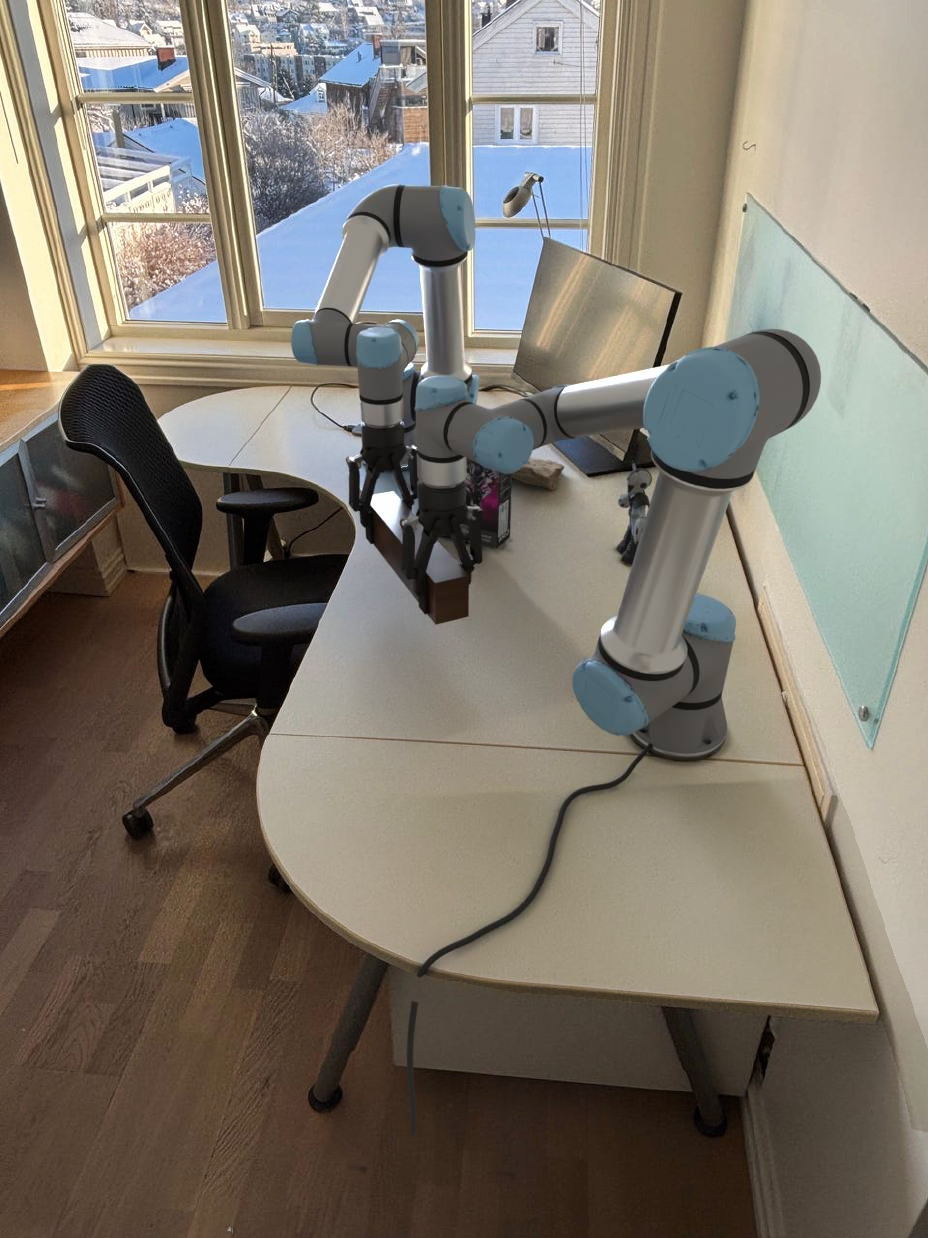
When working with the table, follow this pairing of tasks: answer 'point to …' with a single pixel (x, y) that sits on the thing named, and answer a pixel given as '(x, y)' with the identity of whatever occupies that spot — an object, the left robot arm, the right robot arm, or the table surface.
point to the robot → (634, 511)
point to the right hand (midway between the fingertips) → (442, 605)
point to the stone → (539, 472)
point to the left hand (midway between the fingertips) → (387, 536)
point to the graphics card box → (488, 503)
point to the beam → (442, 568)
